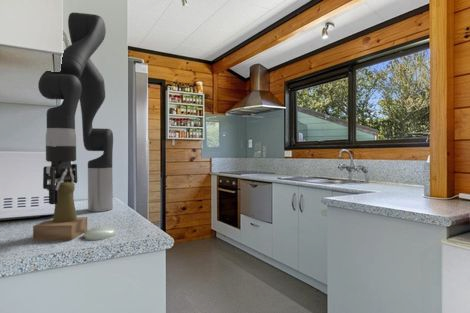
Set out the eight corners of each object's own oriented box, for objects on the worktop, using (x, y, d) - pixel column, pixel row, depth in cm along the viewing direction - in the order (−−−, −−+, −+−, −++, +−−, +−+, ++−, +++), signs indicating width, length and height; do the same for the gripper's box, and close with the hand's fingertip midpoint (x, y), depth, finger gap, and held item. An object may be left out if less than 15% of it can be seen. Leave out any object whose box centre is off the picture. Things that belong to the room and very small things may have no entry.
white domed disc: (91, 233, 89) (91, 227, 89) (118, 232, 90) (118, 226, 90) (79, 241, 81) (79, 234, 81) (109, 240, 82) (109, 234, 82)
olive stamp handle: (68, 222, 84) (67, 183, 84) (48, 222, 85) (47, 183, 84) (81, 217, 90) (80, 181, 90) (62, 217, 91) (61, 181, 90)
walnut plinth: (53, 230, 90) (53, 217, 90) (87, 230, 91) (87, 217, 91) (33, 240, 80) (33, 226, 80) (71, 240, 81) (71, 225, 81)
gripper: (60, 145, 92) (61, 197, 93) (32, 144, 78) (33, 206, 78) (85, 145, 93) (86, 197, 93) (62, 144, 78) (62, 206, 79)
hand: (61, 201), depth 86 cm, fingers open, 8 cm apart
